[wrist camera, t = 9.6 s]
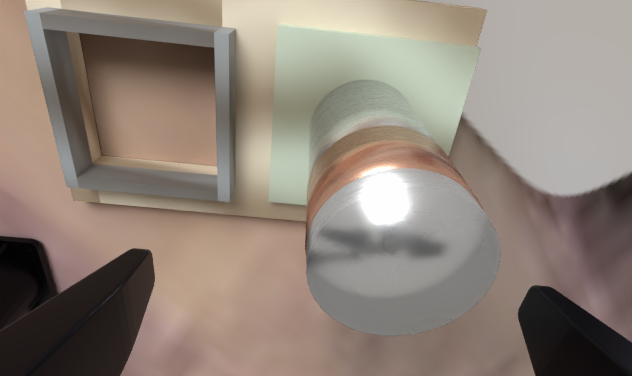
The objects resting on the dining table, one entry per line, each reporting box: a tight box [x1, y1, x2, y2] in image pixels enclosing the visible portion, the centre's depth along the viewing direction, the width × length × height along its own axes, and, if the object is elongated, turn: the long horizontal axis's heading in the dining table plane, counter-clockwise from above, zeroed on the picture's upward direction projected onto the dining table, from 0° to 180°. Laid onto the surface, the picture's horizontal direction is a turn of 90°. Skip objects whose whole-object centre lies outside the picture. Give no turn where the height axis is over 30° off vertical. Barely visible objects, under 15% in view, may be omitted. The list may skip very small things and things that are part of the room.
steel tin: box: [305, 80, 500, 336], centre depth 15 cm, size 5×5×10 cm
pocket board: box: [24, 0, 487, 222], centre depth 19 cm, size 12×20×3 cm, turn 84°
